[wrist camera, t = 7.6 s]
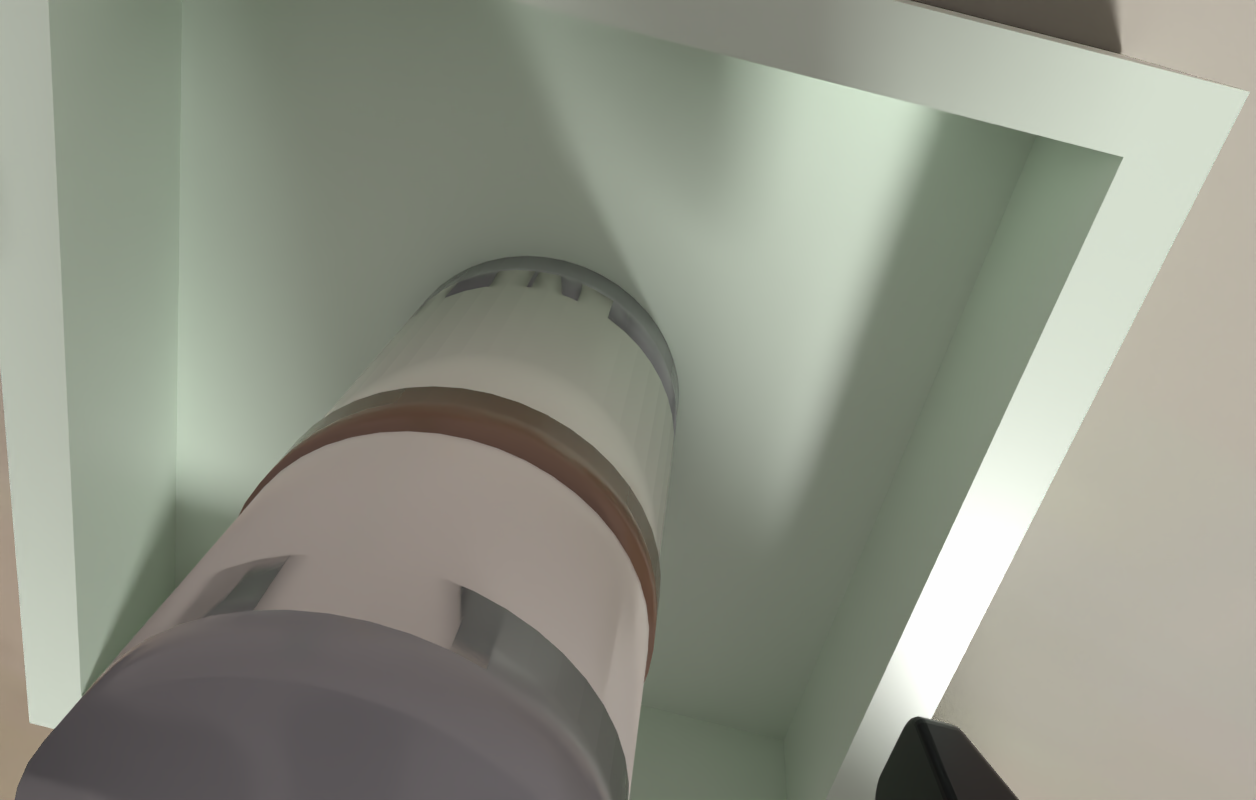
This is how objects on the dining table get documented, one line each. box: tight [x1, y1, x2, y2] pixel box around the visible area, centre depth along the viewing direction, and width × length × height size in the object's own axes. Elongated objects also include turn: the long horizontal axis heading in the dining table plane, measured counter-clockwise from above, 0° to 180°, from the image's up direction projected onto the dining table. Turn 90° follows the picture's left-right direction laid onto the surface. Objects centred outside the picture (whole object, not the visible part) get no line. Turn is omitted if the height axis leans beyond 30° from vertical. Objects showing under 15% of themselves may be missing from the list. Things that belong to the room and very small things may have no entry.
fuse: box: [15, 256, 679, 800], centre depth 10 cm, size 4×4×8 cm
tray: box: [0, 0, 1250, 800], centre depth 13 cm, size 12×12×3 cm
